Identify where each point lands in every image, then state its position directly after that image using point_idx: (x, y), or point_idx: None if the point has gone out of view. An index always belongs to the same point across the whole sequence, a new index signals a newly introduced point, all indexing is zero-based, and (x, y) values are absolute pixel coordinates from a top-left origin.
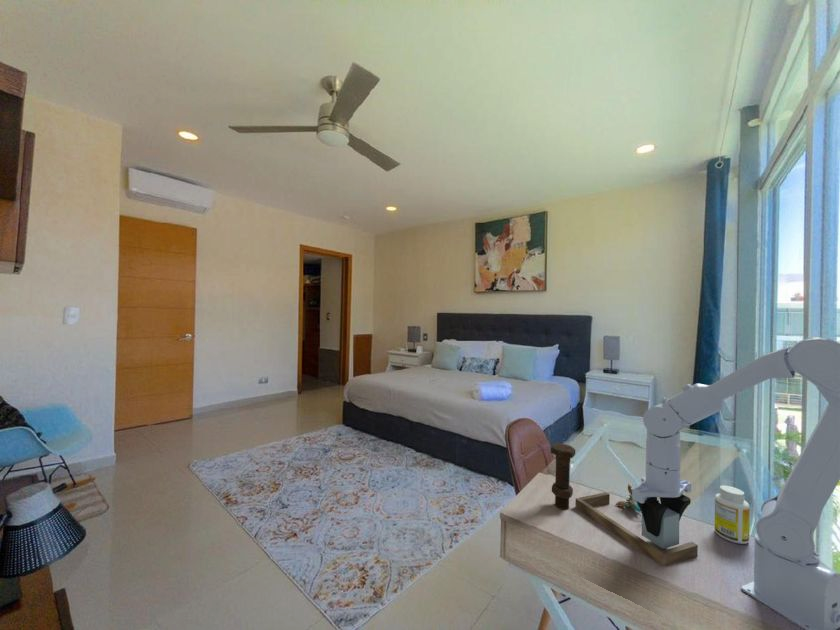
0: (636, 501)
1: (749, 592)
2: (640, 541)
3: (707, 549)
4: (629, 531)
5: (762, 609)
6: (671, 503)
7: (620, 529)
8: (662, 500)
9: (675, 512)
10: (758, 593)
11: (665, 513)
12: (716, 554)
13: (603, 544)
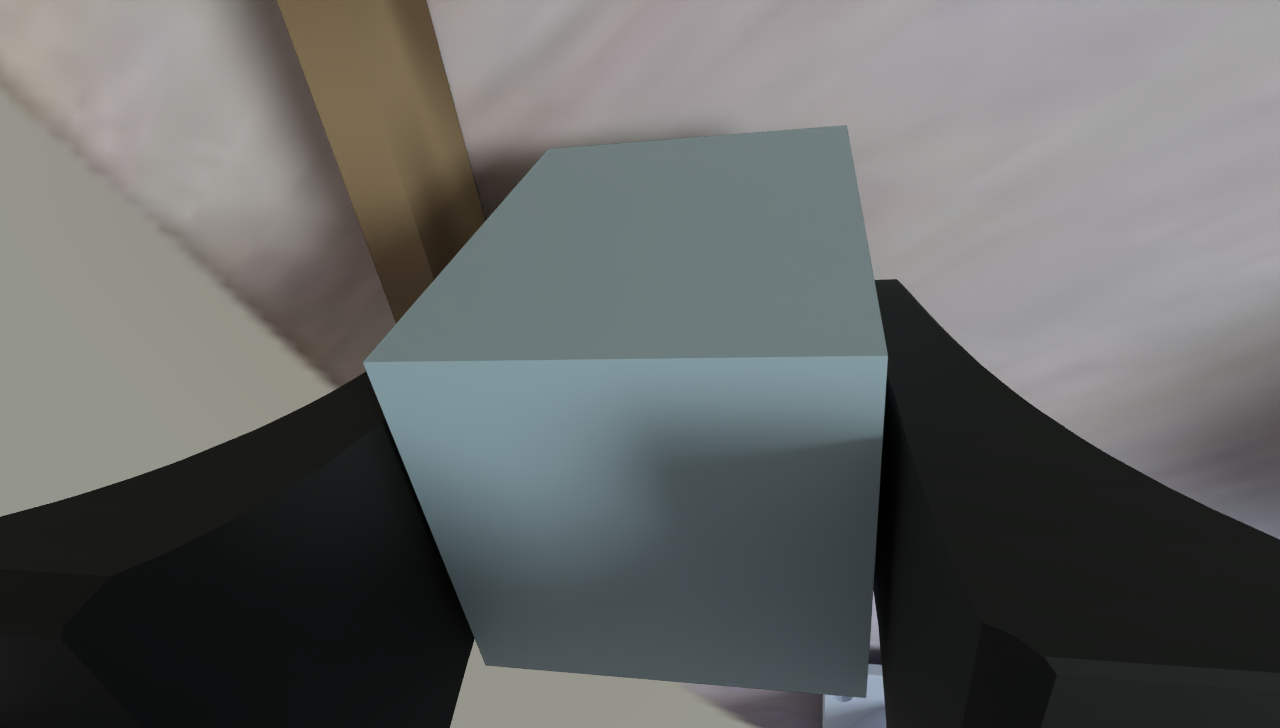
0: (64, 506)
1: (825, 701)
2: (390, 295)
3: (1233, 363)
4: (373, 118)
5: (801, 704)
6: (906, 722)
7: (296, 22)
8: (917, 543)
9: (850, 663)
10: (859, 726)
11: (632, 622)
12: (1211, 429)
13: (145, 19)
